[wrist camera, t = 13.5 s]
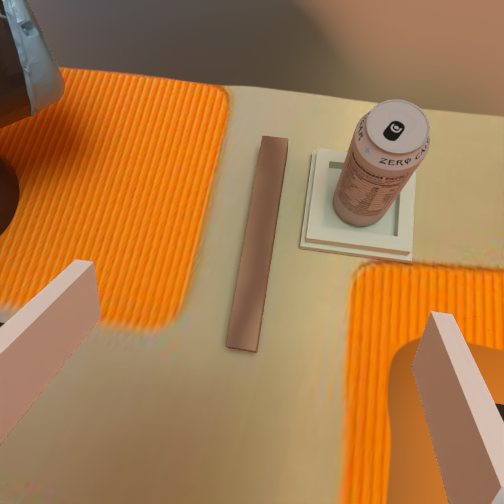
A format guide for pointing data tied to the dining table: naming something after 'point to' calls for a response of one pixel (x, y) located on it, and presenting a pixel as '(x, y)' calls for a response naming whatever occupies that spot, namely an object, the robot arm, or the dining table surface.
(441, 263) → the dining table surface
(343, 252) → the keeper plate
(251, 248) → the walnut sill
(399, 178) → the energy drink can
